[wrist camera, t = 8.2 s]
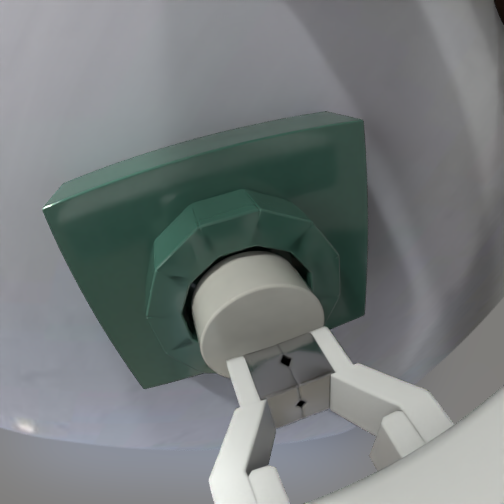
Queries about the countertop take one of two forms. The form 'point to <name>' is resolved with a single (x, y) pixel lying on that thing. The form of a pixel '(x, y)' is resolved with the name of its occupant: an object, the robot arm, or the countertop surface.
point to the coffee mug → (500, 8)
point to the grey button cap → (251, 307)
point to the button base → (215, 230)
